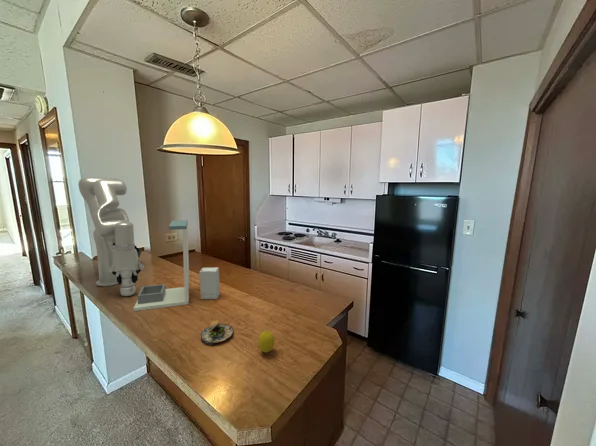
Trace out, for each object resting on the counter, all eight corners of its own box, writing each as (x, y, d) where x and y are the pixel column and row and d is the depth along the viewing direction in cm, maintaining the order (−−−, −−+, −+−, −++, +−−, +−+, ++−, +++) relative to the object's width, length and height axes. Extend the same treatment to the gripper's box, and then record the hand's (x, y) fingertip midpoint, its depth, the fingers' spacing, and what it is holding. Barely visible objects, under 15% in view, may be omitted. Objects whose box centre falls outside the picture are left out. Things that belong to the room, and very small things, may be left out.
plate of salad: (210, 351, 86) (210, 331, 85) (194, 336, 94) (194, 317, 93) (239, 336, 94) (239, 318, 93) (223, 324, 102) (223, 307, 101)
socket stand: (141, 294, 126) (137, 220, 120) (189, 289, 134) (187, 220, 128) (133, 311, 109) (128, 227, 104) (188, 304, 117) (186, 225, 112)
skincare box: (220, 294, 129) (220, 267, 127) (216, 299, 123) (216, 271, 121) (203, 294, 129) (203, 266, 126) (199, 299, 123) (199, 270, 120)
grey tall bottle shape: (128, 298, 121) (126, 258, 118) (116, 296, 122) (114, 257, 119) (139, 293, 127) (137, 255, 124) (128, 291, 128) (125, 254, 125)
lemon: (258, 347, 88) (259, 326, 87) (274, 347, 89) (274, 326, 88) (257, 358, 83) (257, 335, 82) (274, 357, 83) (274, 335, 82)
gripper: (100, 250, 114) (104, 287, 117) (144, 248, 121) (146, 283, 123) (106, 246, 121) (109, 282, 124) (147, 244, 127) (148, 278, 130)
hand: (127, 282), depth 123 cm, fingers open, 5 cm apart
